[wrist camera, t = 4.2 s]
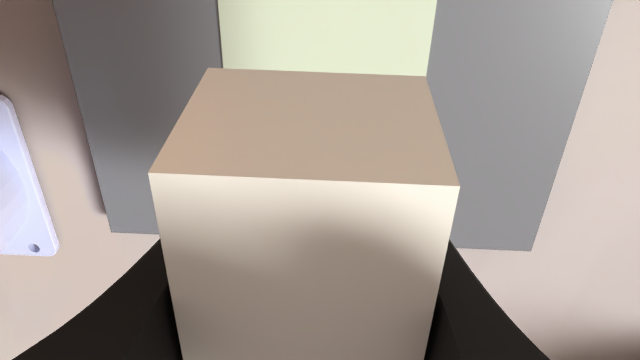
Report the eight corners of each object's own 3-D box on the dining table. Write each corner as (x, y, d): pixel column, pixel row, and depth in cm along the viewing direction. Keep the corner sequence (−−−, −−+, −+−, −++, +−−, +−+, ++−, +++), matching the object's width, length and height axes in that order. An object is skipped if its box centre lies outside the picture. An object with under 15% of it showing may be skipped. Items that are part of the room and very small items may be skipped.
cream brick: (233, 327, 15) (202, 464, 12) (208, 67, 11) (147, 172, 8) (388, 334, 15) (399, 475, 12) (425, 76, 11) (460, 186, 8)
